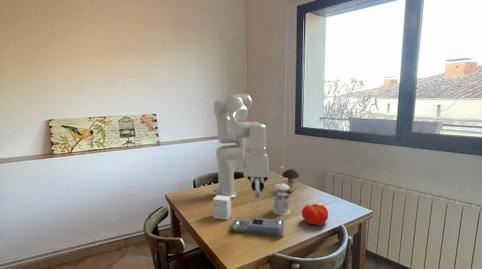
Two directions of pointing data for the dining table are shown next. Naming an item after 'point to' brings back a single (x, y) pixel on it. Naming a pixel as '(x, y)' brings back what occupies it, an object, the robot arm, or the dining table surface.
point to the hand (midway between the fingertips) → (257, 190)
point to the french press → (281, 204)
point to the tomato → (315, 214)
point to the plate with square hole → (259, 226)
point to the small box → (222, 207)
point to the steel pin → (257, 187)
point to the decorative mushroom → (290, 178)
